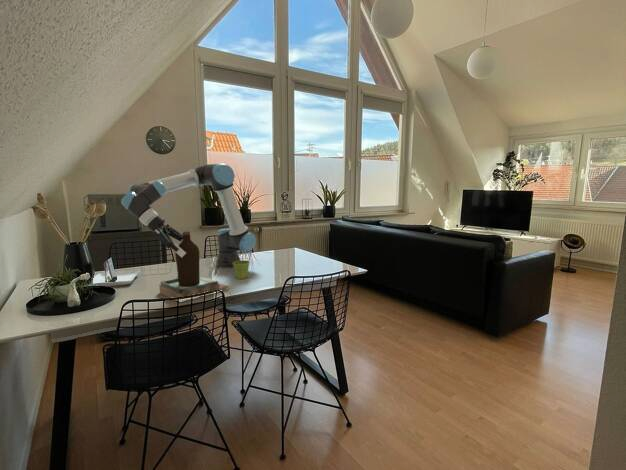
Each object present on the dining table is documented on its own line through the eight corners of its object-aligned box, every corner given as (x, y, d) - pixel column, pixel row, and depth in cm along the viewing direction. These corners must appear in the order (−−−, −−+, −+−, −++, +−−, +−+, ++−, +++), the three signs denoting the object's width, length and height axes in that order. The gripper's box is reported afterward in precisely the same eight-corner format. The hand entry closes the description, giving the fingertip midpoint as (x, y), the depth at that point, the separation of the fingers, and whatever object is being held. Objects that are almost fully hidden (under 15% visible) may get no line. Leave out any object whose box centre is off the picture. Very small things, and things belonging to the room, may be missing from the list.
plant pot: (246, 280, 183) (246, 264, 182) (230, 279, 185) (229, 263, 184) (253, 275, 192) (252, 260, 191) (237, 274, 194) (236, 260, 193)
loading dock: (207, 281, 181) (206, 271, 180) (228, 289, 168) (228, 278, 167) (159, 292, 163) (159, 281, 162) (179, 302, 150) (179, 290, 149)
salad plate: (85, 290, 168) (84, 283, 168) (99, 278, 189) (98, 272, 188) (132, 286, 174) (132, 280, 173) (141, 275, 194) (140, 269, 194)
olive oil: (200, 286, 159) (197, 233, 155) (176, 288, 156) (172, 234, 152) (201, 280, 169) (198, 230, 165) (178, 281, 166) (175, 230, 163)
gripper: (157, 223, 169) (190, 252, 173) (135, 230, 144) (174, 264, 148) (167, 212, 169) (200, 241, 172) (147, 217, 144) (186, 252, 148)
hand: (188, 252), depth 160 cm, fingers open, 13 cm apart
